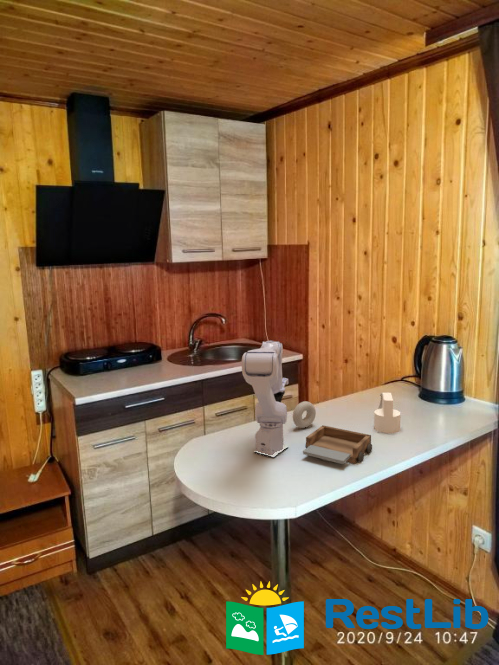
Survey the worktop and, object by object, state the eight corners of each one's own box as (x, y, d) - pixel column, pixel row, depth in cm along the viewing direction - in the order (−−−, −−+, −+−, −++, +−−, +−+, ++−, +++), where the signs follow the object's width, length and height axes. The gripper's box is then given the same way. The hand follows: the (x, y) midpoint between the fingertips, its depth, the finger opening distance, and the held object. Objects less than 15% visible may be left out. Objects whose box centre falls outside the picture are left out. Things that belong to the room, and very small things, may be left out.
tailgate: (350, 459, 146) (343, 466, 142) (310, 450, 154) (303, 456, 150) (350, 454, 146) (343, 461, 142) (310, 444, 153) (303, 451, 149)
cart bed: (358, 464, 145) (358, 449, 144) (304, 451, 156) (303, 436, 155) (373, 450, 155) (373, 435, 154) (320, 438, 165) (320, 424, 164)
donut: (296, 432, 172) (296, 405, 170) (290, 429, 174) (290, 403, 173) (317, 425, 177) (317, 399, 175) (311, 423, 180) (311, 397, 178)
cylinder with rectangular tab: (401, 433, 167) (402, 401, 165) (374, 432, 169) (375, 400, 166) (398, 424, 176) (399, 392, 173) (373, 423, 177) (373, 392, 175)
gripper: (271, 386, 154) (273, 422, 159) (295, 369, 164) (296, 403, 169) (253, 381, 158) (256, 417, 163) (278, 365, 169) (280, 398, 174)
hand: (275, 410), depth 166 cm, fingers closed
